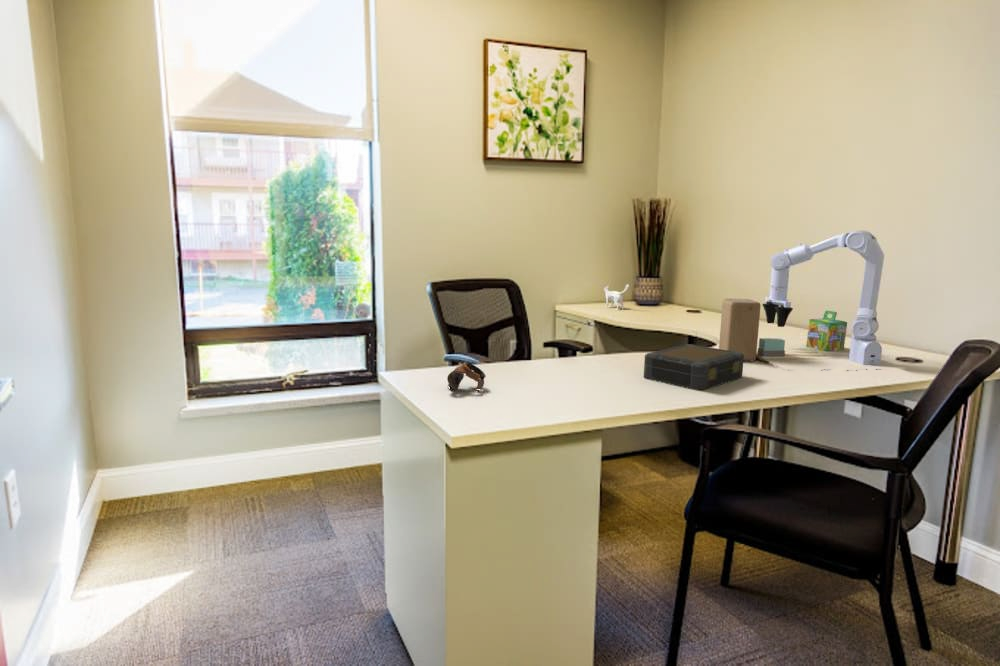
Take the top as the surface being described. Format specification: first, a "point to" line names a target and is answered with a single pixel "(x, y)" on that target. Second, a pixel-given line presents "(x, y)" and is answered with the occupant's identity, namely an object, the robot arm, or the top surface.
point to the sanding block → (771, 347)
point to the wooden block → (740, 327)
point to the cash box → (693, 366)
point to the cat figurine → (614, 296)
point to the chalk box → (826, 333)
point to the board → (797, 356)
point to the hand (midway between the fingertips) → (775, 324)
